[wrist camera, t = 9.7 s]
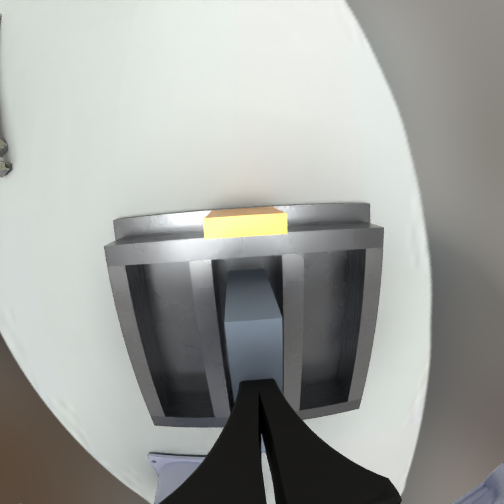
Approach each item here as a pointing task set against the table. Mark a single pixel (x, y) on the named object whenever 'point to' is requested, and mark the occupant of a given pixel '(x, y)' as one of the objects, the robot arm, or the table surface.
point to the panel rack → (214, 299)
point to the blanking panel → (253, 330)
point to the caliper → (3, 167)
